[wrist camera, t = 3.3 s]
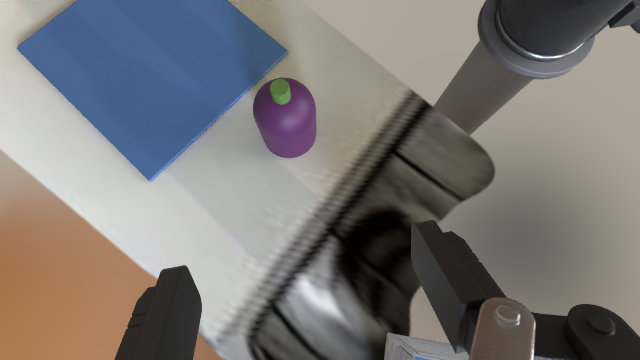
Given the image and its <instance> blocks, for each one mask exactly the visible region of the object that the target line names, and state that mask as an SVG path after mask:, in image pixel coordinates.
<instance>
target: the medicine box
mask: <svg viewBox="0 0 640 360" xmlns="http://www.w3.org/2000/svg"><path fill="white" fill-rule="evenodd" d="M468 359H469V355H468V353H467V352H463V353H458V354H455V352H454V350H453V348H452V346H451V344H446V343H441V342H436V341H430V340H424V339H418V338H413V337H408V336H403V335H397V334H392V333H389V332H388V333H387V339H386V347H385V356H384V360H468Z"/></svg>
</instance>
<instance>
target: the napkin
mask: <svg viewBox="0 0 640 360" xmlns="http://www.w3.org/2000/svg"><path fill="white" fill-rule="evenodd" d="M17 49H18V50H19V51H20V52H21V53H22V54H23V55H24V56H25V57H26V58H27V59H28V60H29V61H30V62H31V63H32V64H33V65H34V66H35V67H36V68H37V69H38V70H39V71H40V72H41V73H42V74H43V75H44V76H45V77H46V78H47V79H48V80H49V81H50V82H51V83H52V84H53V85H54V86H55V87H56V88H57V89H58V90H59V91H60V92H61V93H62V94H63V95H64V96H65V97H66V98H67V99H68V100H69V101H70V102H71V103H72V104H73V105H74V106H75V107H76V108H77V109H78V110H79V111H80V112H81V113H82V114H83V115H84V116H85V117H86V118H87V119H88V120H89V121H90V122H91V123H92V124H93V125H94V126H95V127H96V128H97V129H98V130H99V131H100V132H101V133H102V134H103V135H104V136H105V137H106V138H107V139H108V140H109V141H110V142H111V143H112V144H113V145H114V146H115V147H116V148H117V149H118V150H119V151H120V152H121V153H122V154H123V155H124V156H125V157H126V158H127V159H128V160H129V161H130V162H131V163H132V164H133V165H134V166H135V167H136V168H137V169H138V170H139V171H140V172H141V173H142V174H143V175H144V176H145V177H146V178H147V179H148V180H149V181H152V180H153V179H154V178H155V177H156V176H157V175H158V174H159V173H160V172H161V171H163V170H164V169H165V168H166V167H167V166H168V165H169V164H170V163H171V162H172V161H173V160H174V159H175V158H176V157H177V156H179V155H180V154H181V153H182V152H183V151H184V150H185V149H186V148H187V147H188V146H189V145H190V144H191V143H192V142H193V141H194V140H196V139H197V138H198V137H199V136H200V135H201V134H202V133H203V132H204V131H205V130H206V129H207V128H208V127H209V126H210V125H212V124H213V123H214V122H215V121H216V120H217V119H218V118H219V117H220V116H221V115H222V114H223V113H224V112H225V111H226V110H228V109H229V108H230V107H231V106H232V105H233V104H234V103H235V102H236V101H237V100H238V99H239V98H240V97H241V96H242V95H243V94H245V93H246V92H247V91H248V90H249V89H250V88H251V87H252V86H253V85H254V84H255V83H256V82H257V81H258V80H259V79H261V78H262V77H263V76H264V75H265V74H266V73H267V72H268V71H269V70H270V69H271V68H272V67H273V66H274V65H275V64H276V63H278V62H279V61H280V60H281V59H282V58H283V57H284V56H285V55H286V54H287V53H288V51H287V50H286V49H285V48H284V47H282V46H281V45H280V44H279V43H278V42H276V41H275V40H274V39H273V38H272V37H270V36H269V35H268V34H267V33H265V32H264V31H263V30H262V29H261V28H259V27H258V26H257V25H256V24H255V23H253V22H252V21H251V20H250V19H249V18H247V17H246V16H245V15H244V14H243V13H241V12H240V11H239V10H238V9H237V8H235V7H234V6H233V5H232V4H230V3H229V2H228V1H227V0H77V1H76V2H74V3H73V4H72V5H71V6H69V7H68V8H67V9H65V10H64V11H63V12H62V13H60V14H59V15H58V16H56V17H55V18H54V19H53V20H51V21H50V22H49V23H48V24H46V25H45V26H44V27H42V28H41V29H40V30H39V31H37V32H36V33H35V34H33V35H32V36H31V37H30V38H28V39H27V40H26V41H25V42H23V43H22V44H21V45H19V46H18V47H17Z"/></svg>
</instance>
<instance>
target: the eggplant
mask: <svg viewBox="0 0 640 360" xmlns="http://www.w3.org/2000/svg"><path fill="white" fill-rule="evenodd" d="M253 114H254V118H255V121H256V123H257V126H258V128H259V130H260V133H261V135H262V137H263V140H264V142H265V144H266V146H267V147H268V149H269V150H270V151H271V152H273V153H274V154H276V155H278V156H280V157H285V158H294V157H298V156H300V155H302V154H304V153H306V152H307V151H308V150H309V149H310V148H311V147H312V145H313V143H314V141H315V138H316V108H315V102H314V99H313V96H312V94H311V93H310V91H309V90H308V89H307V88H306V87H305V86H304V85H303V84H302V83H300V82H298V81H296V80H294V79H290V78H277V79H274V80H271V81H269V82H267V83H266V84H265V85H263V86H262V87H261V89H260V90H259V91H258V93H257V95H256V97H255V100H254V104H253Z"/></svg>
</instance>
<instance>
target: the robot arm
mask: <svg viewBox="0 0 640 360" xmlns="http://www.w3.org/2000/svg"><path fill="white" fill-rule="evenodd" d="M494 22H495V27H496V30H497V33H498V35H499V36H500V38H501V40H502V41H503V42H504V43H505V45H506V46H507V47H508V48H510V49H511V50H512V51H513V52H515V53H516V54H518V55H520V56H522V57H524V58H527V59H530V60H533V61H539V62H553V61H558V60H561V59H563V58H566V57H568V56H569V55H571V54H572V53H573V52H574V51H576V50H577V49H578V48H579V47H580V46H581V45H582V44H583V43H584V42H588V41H589V40H591V39H592V38H593V37H594V36H595V35H597V34H598V33H599V32H600V31H601V30H602V29H604V28H605V27H606V26H607V25H608V24H609V26H610V28H615V27H620V26H627V25H630V26H631V27H632V28H633V30H634V31H636V32H637V33H639V34H640V0H500V1H499V3H498V4H497V7H496V10H495V14H494ZM411 259H412V264H413V268H414V271H415V273H416V275H417V277H418V279H419V281H420V283H421V285H422V287H423V289H424V291H425V293H426V295H427V297H428V299H429V301H430V303H431V305H432V307H433V309H434V311H435V313H436V315H437V317H438V319H439V321H440V323H441V325H442V328H443V329H444V332H445V333H446V336H447V338H448V340H449V342H450V344H451V346H452V348H453V350H454V352H455V354H458V353H463V352H467V353H468V355H469V359H468V360H640V337H639V336H638V335H637V334H636V333H635V331H634V330H633V329H632V328H631V327H630V326H629V325H628V324H627V323H626V322H625V321H624V320H623V319H622V318H621V317H619V316H618V315H616V314H615V313H613V312H611V311H610V310H608V309H605V308H603V307H600V306H596V305H591V304H581V305H576V306H574V307H573V308H571V310H570V311H569V313H568V316H558V315H548V314H538V313H533V312H530V311H529V310H528V309H527V308H526V307H525V306H524V305H522V304H521V303H519V302H517V301H515V300H512V299H509V298H507V297H506V296H505V295H504V293H503V292H502V291H501V289H500V288H499V287H498V285H497V284H496V283H495V281H494V280H493V278H492V277H491V276H490V274H489V273H488V272H487V270H486V269H485V268H484V266H483V265H482V263H481V262H479V259H478V258H477V257H476V255H475V254H474V253H472V250H471V249H470V247H469V246H468V245H467V243H466V242H465V240H464V239H462V238H461V237H459V236H457V235H456V234H455V233H453V232H452V231H450V232H446V233H443V232H442V231H441V229H440V228H439V226H438V225H437V223H436V222H435V221H434V220H429V221H424V222H419V223H413V224H412V226H411ZM201 313H202V303H201V297H200V294H199V292H198V290H197V287H196V285H195V283H194V281H193V278H192V276H191V274H190V271H189V269H188V268H187V266H185V265H184V266H178V267H173V268H168V269H163V270H162V271H161V273H160V275H159V278H158V281H157V284H156V286H154V287H149V288H147V290H146V291H145V292H144V293H143V295H142V296H141V297H140V298H139V299H138V301H137V303H136V305H135V308H134V311H133V313H132V318H131V319H130V321H129V324H128V326H127V327H128V329H126V332H125V334H124V336H123V339H122V342H121V344H120V347H119V349H118V352H117V355H116V357H115V360H193V356H194V350H195V345H196V340H197V334H198V329H199V324H200V318H201Z"/></svg>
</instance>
